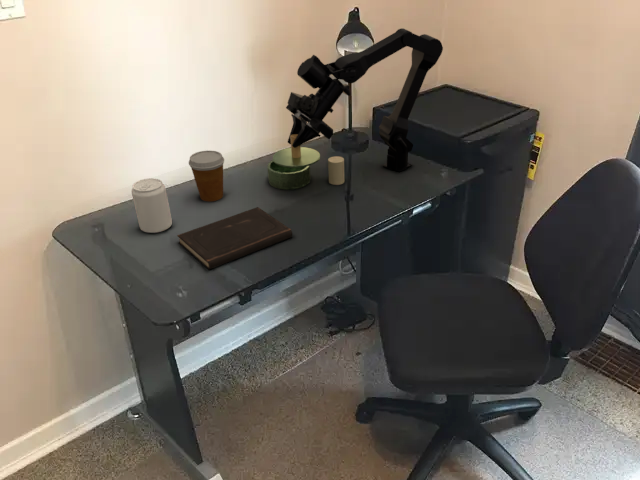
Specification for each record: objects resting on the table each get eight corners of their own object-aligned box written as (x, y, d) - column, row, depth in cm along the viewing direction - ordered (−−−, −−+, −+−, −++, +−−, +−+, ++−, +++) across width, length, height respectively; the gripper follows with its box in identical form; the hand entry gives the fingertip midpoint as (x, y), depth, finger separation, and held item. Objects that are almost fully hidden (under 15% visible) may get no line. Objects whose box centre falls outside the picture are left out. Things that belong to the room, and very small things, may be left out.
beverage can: (178, 222, 159) (170, 180, 153) (160, 236, 153) (151, 193, 146) (152, 217, 161) (143, 175, 155) (133, 231, 155) (123, 189, 148)
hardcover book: (178, 243, 150) (177, 235, 149) (258, 214, 163) (257, 206, 161) (210, 270, 140) (208, 262, 139) (292, 238, 152) (292, 230, 151)
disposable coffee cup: (187, 200, 169) (180, 160, 163) (207, 186, 177) (201, 147, 170) (216, 206, 166) (210, 166, 160) (235, 192, 174) (230, 152, 167)
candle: (336, 176, 182) (335, 154, 178) (347, 181, 179) (347, 159, 176) (325, 181, 179) (324, 159, 175) (337, 186, 177) (336, 164, 173)
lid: (297, 146, 179) (296, 123, 175) (330, 158, 171) (329, 134, 167) (263, 160, 170) (260, 136, 166) (295, 174, 163) (293, 149, 159)
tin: (290, 168, 187) (289, 153, 184) (319, 179, 180) (318, 163, 178) (260, 181, 179) (258, 165, 177) (288, 193, 173) (287, 177, 170)
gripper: (289, 72, 167) (256, 118, 169) (321, 90, 154) (284, 140, 155) (316, 95, 175) (284, 140, 176) (348, 115, 161) (313, 162, 163)
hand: (291, 145), depth 168 cm, fingers closed on lid, 2 cm apart
